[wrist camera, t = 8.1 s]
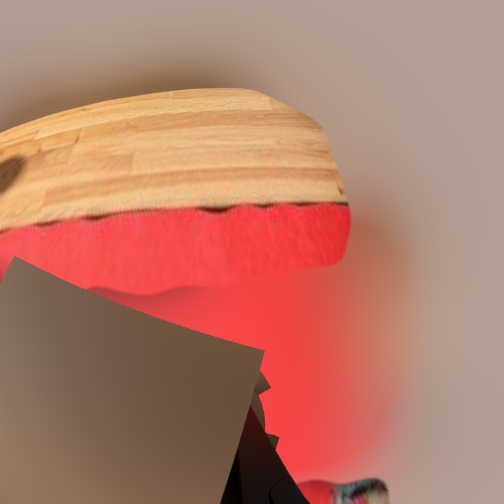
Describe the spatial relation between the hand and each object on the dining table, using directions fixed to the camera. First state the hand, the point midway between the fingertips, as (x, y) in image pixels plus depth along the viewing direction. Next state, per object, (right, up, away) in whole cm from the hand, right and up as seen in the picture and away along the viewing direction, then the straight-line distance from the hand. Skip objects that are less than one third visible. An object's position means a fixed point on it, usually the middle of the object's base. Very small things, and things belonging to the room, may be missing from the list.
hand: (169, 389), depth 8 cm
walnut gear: (-1, -5, +5) cm, 7 cm away
